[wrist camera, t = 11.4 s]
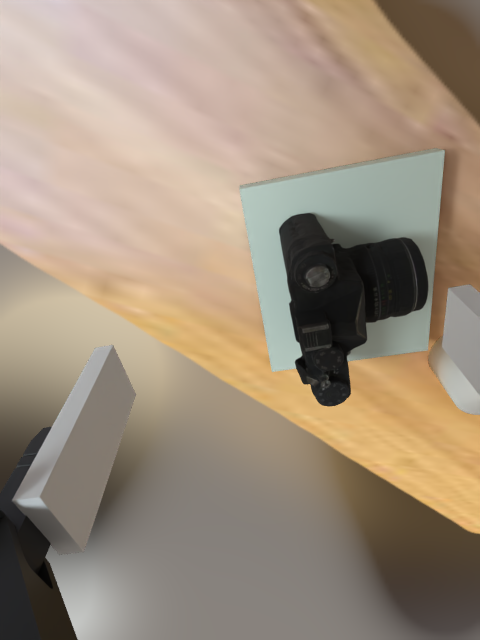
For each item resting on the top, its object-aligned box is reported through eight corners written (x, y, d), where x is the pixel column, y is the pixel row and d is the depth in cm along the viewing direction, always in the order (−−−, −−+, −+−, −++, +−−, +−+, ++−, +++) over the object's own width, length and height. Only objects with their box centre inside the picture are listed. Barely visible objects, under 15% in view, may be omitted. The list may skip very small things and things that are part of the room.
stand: (239, 182, 33) (239, 189, 30) (428, 145, 31) (444, 150, 29) (270, 355, 42) (272, 371, 40) (416, 334, 41) (427, 350, 38)
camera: (398, 334, 37) (444, 405, 29) (291, 351, 38) (304, 424, 30) (400, 192, 30) (462, 230, 22) (270, 218, 32) (279, 263, 23)
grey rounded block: (430, 331, 41) (456, 365, 36) (497, 322, 40) (535, 355, 35) (425, 381, 44) (449, 418, 39) (488, 372, 44) (521, 410, 38)
